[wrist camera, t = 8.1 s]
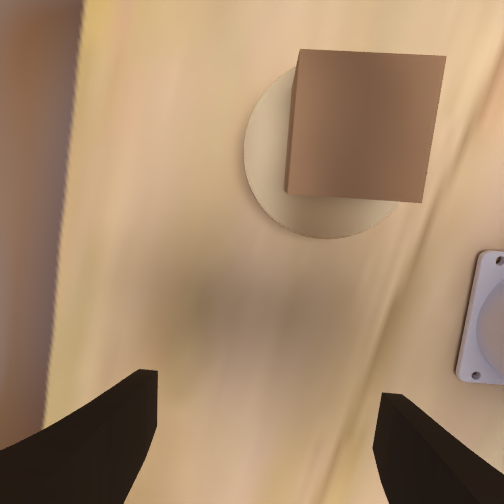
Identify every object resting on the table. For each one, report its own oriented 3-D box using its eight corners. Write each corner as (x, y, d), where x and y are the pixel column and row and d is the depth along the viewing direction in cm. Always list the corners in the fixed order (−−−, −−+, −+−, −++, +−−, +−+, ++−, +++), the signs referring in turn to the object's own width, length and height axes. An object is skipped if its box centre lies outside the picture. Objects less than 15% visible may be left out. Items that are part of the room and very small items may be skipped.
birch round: (410, 90, 18) (443, 69, 14) (376, 239, 20) (398, 252, 16) (259, 68, 18) (256, 42, 15) (238, 218, 20) (231, 226, 16)
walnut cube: (394, 92, 15) (446, 56, 10) (380, 196, 16) (421, 203, 11) (291, 87, 15) (299, 49, 11) (283, 189, 16) (287, 194, 12)
